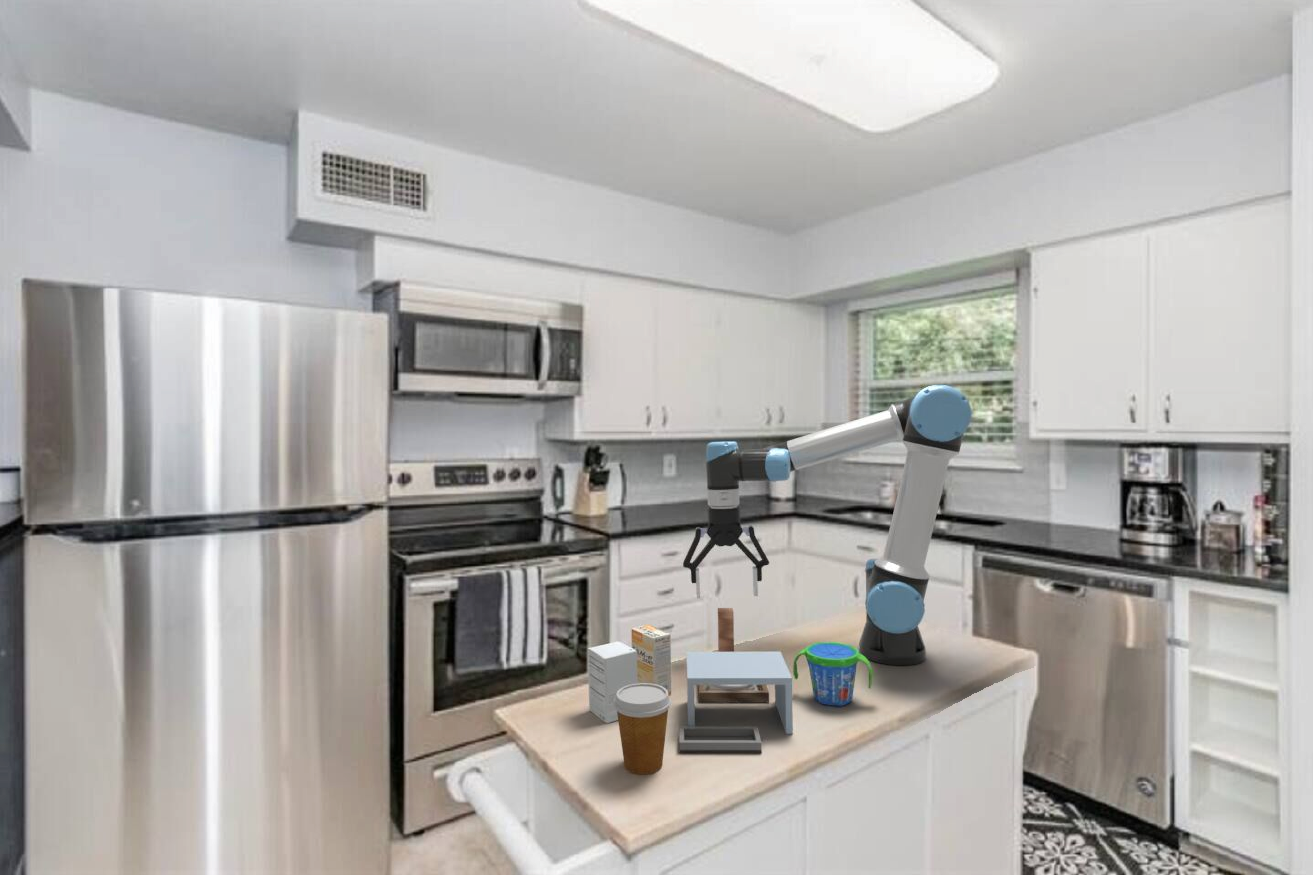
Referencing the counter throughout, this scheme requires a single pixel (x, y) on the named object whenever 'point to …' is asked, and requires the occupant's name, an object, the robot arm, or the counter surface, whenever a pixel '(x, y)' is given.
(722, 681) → the tunnel
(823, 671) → the snack cup
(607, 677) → the supplement box
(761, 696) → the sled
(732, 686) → the round grey tin
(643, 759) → the disposable coffee cup
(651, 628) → the supplement box
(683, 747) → the tray
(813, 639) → the counter surface
